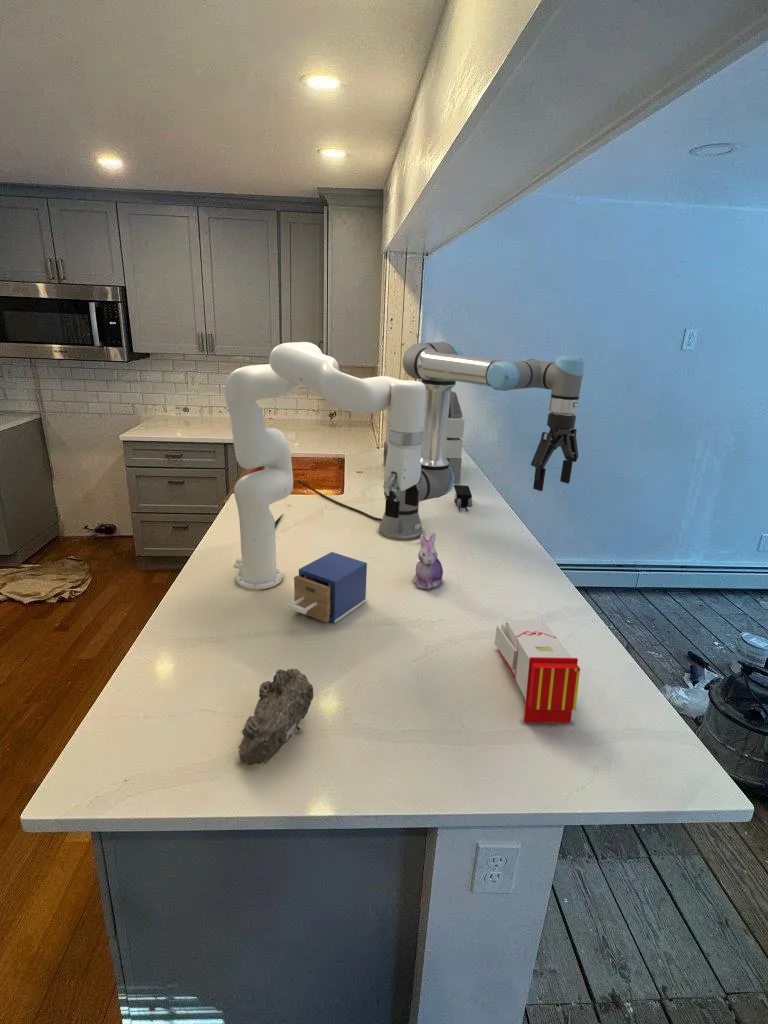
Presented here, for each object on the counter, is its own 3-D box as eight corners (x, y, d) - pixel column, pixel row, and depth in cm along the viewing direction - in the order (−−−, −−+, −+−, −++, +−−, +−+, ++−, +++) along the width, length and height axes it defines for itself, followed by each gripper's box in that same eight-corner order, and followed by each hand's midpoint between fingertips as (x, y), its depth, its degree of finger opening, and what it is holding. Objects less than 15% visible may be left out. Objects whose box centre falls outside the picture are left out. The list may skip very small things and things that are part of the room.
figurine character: (472, 516, 224) (466, 500, 237) (474, 499, 220) (469, 483, 234) (455, 515, 224) (451, 499, 237) (457, 498, 220) (452, 483, 234)
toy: (541, 605, 135) (589, 664, 106) (536, 657, 138) (581, 729, 108) (490, 604, 135) (524, 663, 105) (486, 656, 137) (518, 728, 108)
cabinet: (334, 622, 142) (335, 581, 138) (299, 608, 148) (298, 569, 144) (365, 601, 153) (367, 562, 149) (331, 589, 159) (331, 551, 155)
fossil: (254, 669, 115) (309, 637, 110) (285, 700, 118) (340, 670, 113) (215, 759, 96) (280, 724, 91) (253, 792, 99) (319, 761, 94)
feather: (290, 508, 223) (292, 504, 223) (272, 532, 197) (275, 527, 196) (286, 505, 223) (289, 501, 223) (268, 529, 197) (271, 525, 196)
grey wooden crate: (382, 463, 289) (386, 382, 275) (445, 464, 293) (451, 384, 279) (390, 482, 257) (394, 392, 243) (460, 483, 261) (468, 394, 247)
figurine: (423, 593, 159) (426, 543, 153) (405, 577, 167) (408, 530, 162) (451, 587, 163) (455, 538, 158) (432, 572, 171) (436, 526, 166)
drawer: (312, 632, 136) (312, 597, 132) (279, 619, 141) (278, 585, 138) (355, 603, 150) (356, 570, 147) (324, 591, 155) (324, 560, 152)
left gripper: (408, 429, 134) (404, 498, 140) (371, 442, 120) (369, 518, 125) (437, 433, 131) (432, 503, 137) (403, 447, 116) (399, 525, 122)
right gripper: (548, 419, 148) (537, 496, 155) (598, 412, 163) (586, 482, 171) (524, 414, 153) (514, 489, 160) (575, 407, 169) (564, 476, 176)
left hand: (401, 510), depth 131 cm, fingers open, 9 cm apart
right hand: (551, 486), depth 165 cm, fingers open, 13 cm apart
